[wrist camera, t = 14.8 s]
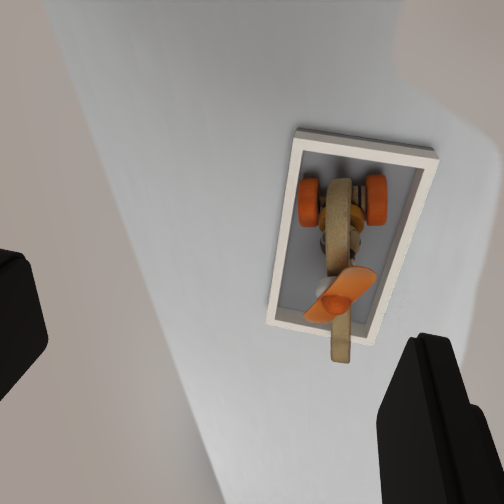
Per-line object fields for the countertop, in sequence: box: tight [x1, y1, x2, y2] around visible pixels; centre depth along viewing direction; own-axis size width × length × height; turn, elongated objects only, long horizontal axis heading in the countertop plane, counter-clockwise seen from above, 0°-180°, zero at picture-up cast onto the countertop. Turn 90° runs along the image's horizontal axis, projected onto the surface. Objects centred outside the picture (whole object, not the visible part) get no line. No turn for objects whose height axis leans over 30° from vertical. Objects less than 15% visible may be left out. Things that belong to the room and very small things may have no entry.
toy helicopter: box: [298, 174, 388, 364], centre depth 39 cm, size 8×21×14 cm, turn 7°
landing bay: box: [266, 128, 440, 346], centre depth 44 cm, size 23×13×4 cm, turn 174°
